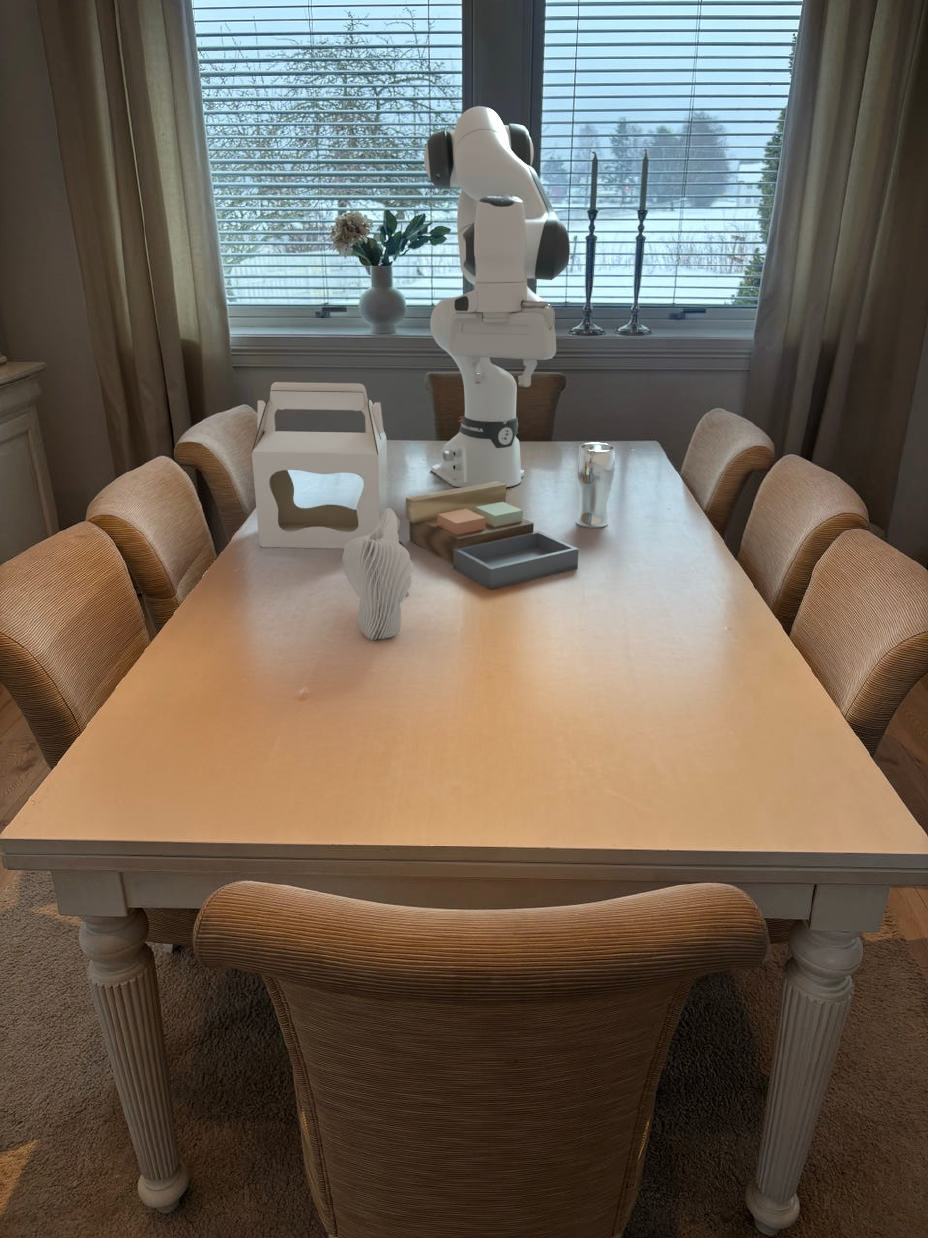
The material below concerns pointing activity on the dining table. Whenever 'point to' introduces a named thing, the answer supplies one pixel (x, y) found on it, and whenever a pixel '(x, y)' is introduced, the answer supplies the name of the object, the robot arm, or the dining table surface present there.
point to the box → (515, 559)
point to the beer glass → (594, 483)
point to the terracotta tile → (461, 521)
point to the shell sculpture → (379, 577)
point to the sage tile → (500, 513)
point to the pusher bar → (453, 500)
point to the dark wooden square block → (461, 536)
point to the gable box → (317, 467)
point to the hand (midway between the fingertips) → (501, 384)
